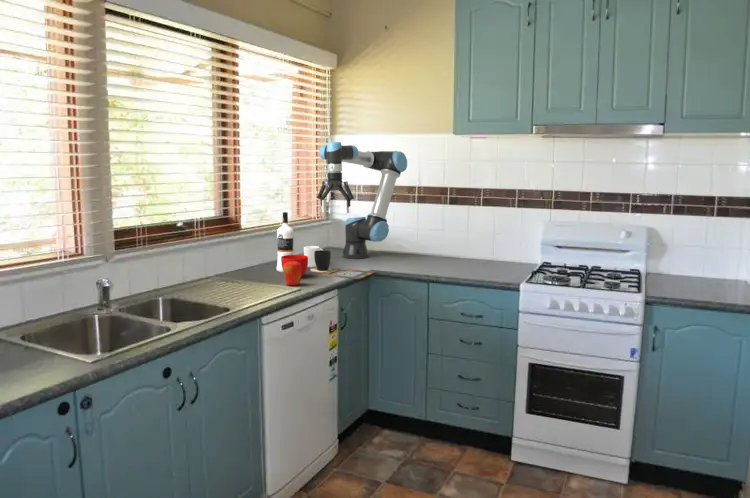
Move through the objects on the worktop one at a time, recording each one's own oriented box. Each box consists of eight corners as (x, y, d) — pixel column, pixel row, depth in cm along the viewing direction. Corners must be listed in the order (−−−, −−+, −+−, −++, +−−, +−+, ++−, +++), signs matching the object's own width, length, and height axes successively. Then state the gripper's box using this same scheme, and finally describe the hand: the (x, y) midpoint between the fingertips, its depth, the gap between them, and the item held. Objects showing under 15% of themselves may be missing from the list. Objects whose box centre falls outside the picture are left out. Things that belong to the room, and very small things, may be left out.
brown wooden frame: (338, 269, 324) (338, 268, 324) (375, 272, 316) (375, 271, 316) (320, 275, 307) (320, 274, 307) (359, 279, 299) (359, 278, 298)
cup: (301, 265, 334) (300, 246, 333) (319, 263, 342) (319, 244, 340) (309, 267, 328) (309, 248, 326) (328, 265, 335) (328, 246, 334)
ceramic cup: (313, 273, 311) (313, 254, 310) (304, 280, 295) (303, 259, 293) (288, 272, 313) (288, 253, 312) (277, 279, 297) (277, 258, 295)
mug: (323, 266, 327) (323, 248, 326) (333, 270, 317) (333, 252, 315) (309, 268, 323) (309, 249, 322) (318, 271, 313) (318, 253, 311)
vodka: (298, 271, 318) (298, 212, 314) (284, 273, 311) (284, 213, 307) (286, 268, 324) (286, 211, 320) (272, 271, 317) (271, 212, 313)
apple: (280, 284, 285) (279, 258, 283) (296, 282, 290) (296, 257, 288) (288, 287, 278) (288, 261, 276) (305, 285, 283) (305, 259, 281)
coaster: (317, 268, 327) (316, 266, 327) (335, 269, 322) (335, 268, 322) (306, 271, 317) (306, 270, 317) (325, 273, 312) (325, 272, 312)
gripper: (310, 172, 326) (311, 212, 330) (353, 172, 317) (354, 214, 320) (316, 171, 333) (318, 211, 337) (359, 171, 323) (360, 212, 327)
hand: (335, 212), depth 329 cm, fingers open, 13 cm apart
